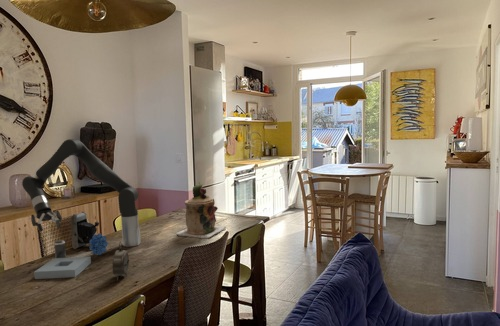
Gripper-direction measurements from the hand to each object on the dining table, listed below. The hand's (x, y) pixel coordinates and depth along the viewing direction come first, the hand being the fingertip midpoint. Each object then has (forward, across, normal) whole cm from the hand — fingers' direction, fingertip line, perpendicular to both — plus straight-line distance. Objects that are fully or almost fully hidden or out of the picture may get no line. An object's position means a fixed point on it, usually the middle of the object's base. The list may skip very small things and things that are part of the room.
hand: (50, 228), depth 196 cm
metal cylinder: (+19, 0, +2) cm, 19 cm away
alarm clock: (+53, +8, -32) cm, 62 cm away
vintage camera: (+11, +20, +10) cm, 25 cm away
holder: (+31, -5, -10) cm, 33 cm away
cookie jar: (+32, +78, -11) cm, 86 cm away
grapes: (+25, +17, -4) cm, 30 cm away
